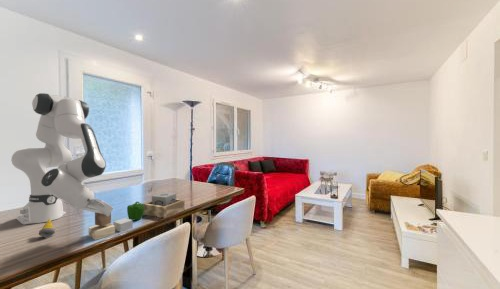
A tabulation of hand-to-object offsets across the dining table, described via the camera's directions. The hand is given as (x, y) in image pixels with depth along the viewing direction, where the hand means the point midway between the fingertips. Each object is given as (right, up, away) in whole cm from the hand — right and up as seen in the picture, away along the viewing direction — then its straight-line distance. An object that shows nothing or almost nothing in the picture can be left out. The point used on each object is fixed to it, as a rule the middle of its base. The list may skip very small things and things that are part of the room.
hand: (104, 213), depth 104 cm
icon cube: (+15, -9, +34) cm, 38 cm away
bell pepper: (+5, -9, +19) cm, 22 cm away
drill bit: (-24, -9, -3) cm, 26 cm away
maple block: (-1, -10, -1) cm, 10 cm away
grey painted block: (+5, -9, +6) cm, 13 cm away
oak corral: (+16, -9, +32) cm, 37 cm away
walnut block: (0, -4, -1) cm, 4 cm away
